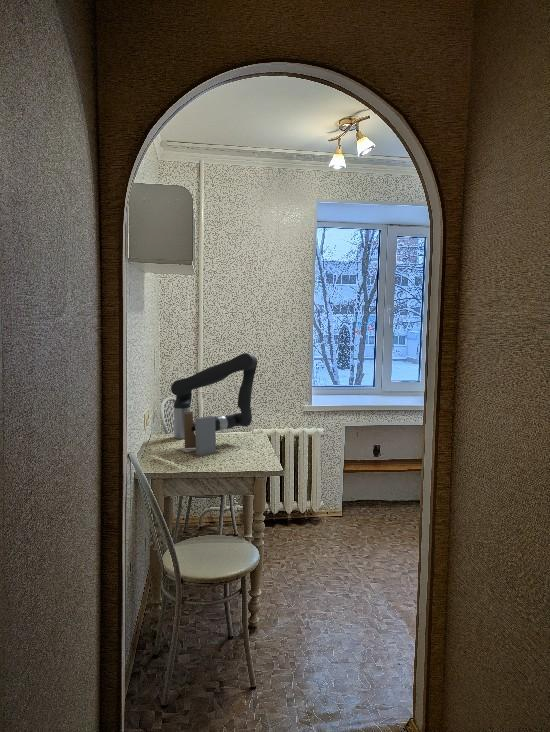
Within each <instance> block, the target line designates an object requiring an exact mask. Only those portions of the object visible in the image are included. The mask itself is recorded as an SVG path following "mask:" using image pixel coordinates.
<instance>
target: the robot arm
mask: <svg viewBox="0 0 550 732" xmlns="http://www.w3.org/2000/svg"><path fill="white" fill-rule="evenodd" d="M257 368H258V358H257V357H256V356H255V355H254V354H251V353H248V352H243V353H241V354H239V355H237V356H235V357H234V358H231V359H230V360H229V359H228V360H226V361H224V362H221V363H218V364H216V365H213V366H209V367H207V368H205V369H204V370H203V369H202V370H200V371H199V372H197V373H195V374H193V375H191V376H189V377H185V378H179V379H177V380H175V381H173V382H172V384H171V387H170V391H171V393H172V394H173V395H174V396H175V397H176V398H175V400H174V403H173V437H174V438H175V439H179V440H180V439H181V440H183V439H184V440H185V435H184V412H191V403H192V395H193V393H192V391H193V390H197V389H199V388H204V387H208V386H211V385H214V384H216V383H219V382H222V381H223V380H225V379H226V378H228V377H229V376H230V375H232V374H235V373H237V372H240V371H243V374H242V382H241V384H240V387H239V391H238V395H237V397H238V398H237V408H239V410H240V412H236V413H232V414H228V415H219V416H218V415H216V416H214V417H215V430H216V432H219V431H223V430H224V431H225V430H227V429H229V430H230V429H232V428H235V427H245V428H246V427H249V426H250V425H251V424H252V422H253V421H252V420H253V415H252V408H251V401H252V391H253V384H254V380H255V375H256V371H257ZM192 431H194V432H196V430H195V421H193V427H192Z"/></svg>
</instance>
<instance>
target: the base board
mask: <svg viewBox="0 0 550 732" xmlns="http://www.w3.org/2000/svg"><path fill="white" fill-rule="evenodd" d="M175 450H177V451H179V452H181V453H185V454H188V455H189V456H190V455H191V456H193V457H196V458H202V457H207V456H208V457H209V456H212V455H219V454H220V455H221V454H222V452H221V451H218V450H216V453H213V454H207V455H202V456H199V455H197V454H196V448H185V447H182V448H181V447H179V448H175Z"/></svg>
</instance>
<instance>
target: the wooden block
mask: <svg viewBox="0 0 550 732" xmlns="http://www.w3.org/2000/svg"><path fill="white" fill-rule="evenodd" d="M193 422H194V413H193V411H190V412H184V435H185V439H184V448H196V433H195V431H192V427H193Z"/></svg>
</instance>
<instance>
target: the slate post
mask: <svg viewBox="0 0 550 732" xmlns="http://www.w3.org/2000/svg"><path fill="white" fill-rule="evenodd" d="M215 417H216V416H212V415H210V416H209V415H208V416H201V417H195V418H194V422H195V430H196V431H195V435H196V454H197V455H199V456H202V455H207V454H213V453H216V451H217V445H216V444H217V443H216V439H217V438H216V436H217V435H216V433H217V431H216V430H215Z"/></svg>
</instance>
